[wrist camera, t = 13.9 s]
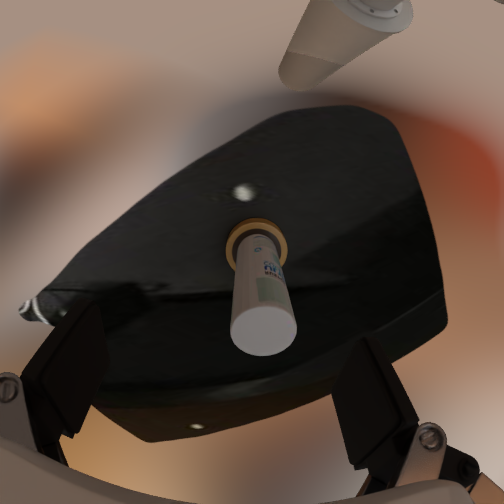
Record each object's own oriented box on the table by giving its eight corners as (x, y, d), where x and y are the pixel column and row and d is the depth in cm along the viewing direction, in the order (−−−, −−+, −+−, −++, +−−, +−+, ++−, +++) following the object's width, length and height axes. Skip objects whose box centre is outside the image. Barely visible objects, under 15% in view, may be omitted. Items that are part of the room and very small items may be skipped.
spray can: (228, 249, 44) (216, 330, 25) (259, 224, 42) (269, 293, 24) (254, 277, 46) (258, 365, 27) (285, 254, 44) (309, 334, 26)
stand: (231, 213, 44) (230, 218, 42) (290, 222, 45) (293, 228, 42) (223, 268, 48) (222, 275, 45) (278, 275, 49) (280, 283, 46)
